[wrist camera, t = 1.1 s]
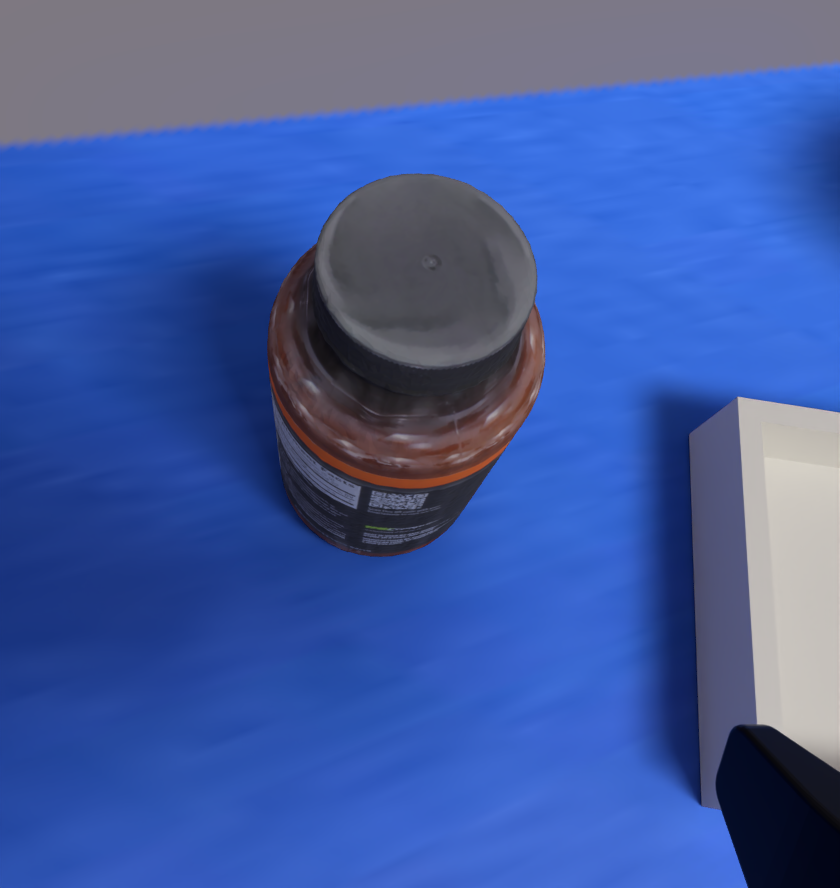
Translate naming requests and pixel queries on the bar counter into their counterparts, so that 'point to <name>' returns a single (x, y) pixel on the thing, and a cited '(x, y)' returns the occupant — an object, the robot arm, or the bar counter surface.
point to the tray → (766, 577)
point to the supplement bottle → (402, 361)
